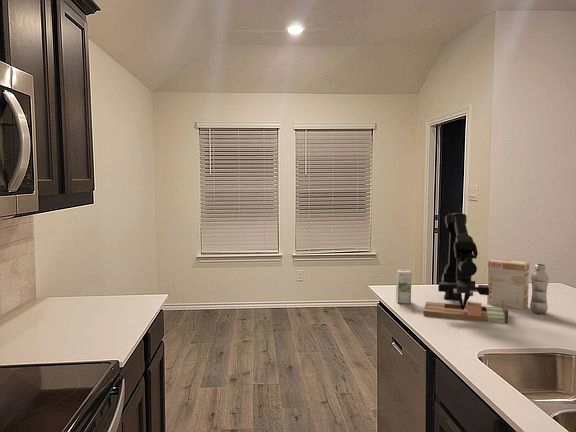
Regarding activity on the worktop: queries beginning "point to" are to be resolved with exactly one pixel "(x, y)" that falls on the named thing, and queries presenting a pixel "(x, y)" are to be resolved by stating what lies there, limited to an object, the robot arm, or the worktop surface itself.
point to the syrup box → (403, 287)
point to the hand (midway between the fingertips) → (462, 309)
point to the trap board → (457, 313)
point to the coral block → (474, 309)
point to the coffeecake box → (508, 283)
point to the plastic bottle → (539, 289)
